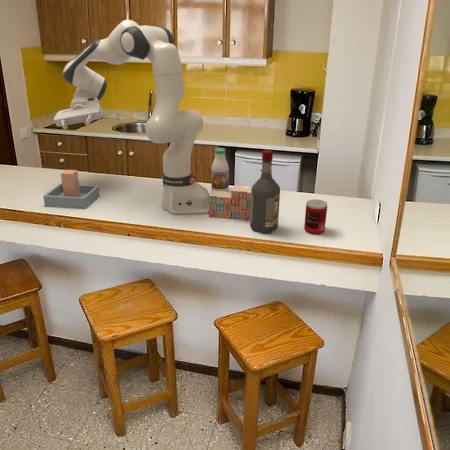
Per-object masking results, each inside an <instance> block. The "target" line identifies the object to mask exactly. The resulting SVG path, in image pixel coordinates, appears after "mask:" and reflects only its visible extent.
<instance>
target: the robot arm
mask: <svg viewBox="0 0 450 450" xmlns="http://www.w3.org/2000/svg"><path fill="white" fill-rule="evenodd" d="M174 41H175V40H174V35H173V34H172V32H171V31H170V30H169V29H168V28H166V27H163V26H161V25H160V26H153V25H139V24H138V22H136V21H134V20H131V19H124V20H122V21H121V22H120V23H118V25H116V27H115V28H114V29H113V30H112V31H111V33H110V34H109V36H108V37H106V38H104V39H95V40H93V41H92V42H90V43H89V44H88V45H87V46H86V47H85V48H84V49H83V50H82V51H80V53H79V54H78V55H76V57H74V58H73V59H72V60H70V61H69V62H67V63H66V65H65V66H64V68H63V71H62V76H63V78H64V80H65V82H66V83H68V84H70V85H72V86H74V87H76V89H75V92H74V94H73V98H72V100H71V103H70V105H69V108H67V109H66V108H65V109H61V110H58V112H56V114H55V115H54V117H53V122H54V124H55V125H56V127H62V129H63V130H67V129H68V127H69V125H75V124H81V123H84V125H85V126H88V125H89V126H90V124H91V122H93V121H96V120H101V119H102V118H103V116H104V112H103V107H102V105H101V102H100V101H101V100H102V98H104V95H105V93H106V90H107V87H108V84H107V82H108V81H107V80H106V77H104V76H102V75H101V74H99V73H97V72H96V71H94V70H93V69H91V68H89V67H88V66H87V65H86V64H88V63H89V62H90V61H92V60H98V61H103V62H105V63H108V64H110V65H123V64H126V62H128V61H129V60H130V59H131V58H135V59H140V60H142V61H143V60H145V59H148V60H149V61H150V62H151V66H152V74H153V81H154V90H155V103H154V108H153V110H152V114H151V115H150V117H149V119H147V121H146V123H145V134H146V137H147V139H148V140H149V141H150V142H151V143H153V144H169V143H170V144H169V146H168V148H167V149H166V150H165V151H164V152H163V154H162V168H163V170H162V171H163V173H162V186H163V195H162V201H161V204H160V205H161V208H162V209H163V210H165V211H167V212H169V213H170V214H172V215H196V214H197V215H200V214H206V215H207V214H209V195H210V193H209V191H208V189H207V188H205V187H204V186H203V185H201V184H200V183H199V182H197V179H196V178H197V177H196V176H197V175H196V173H192V172H191V171H192V170H191V169H192V167H191V165H192V164H191V159H192V158H191V156H192V150H193V147H194V145H195V142H196V139H197V137H198V136H199V134H200V133H201V132H202V131H203V128H204V119H203V117H202V115H201V113H200V112H199V111H197V110H196V109H182V110H178V109H179V108H178V107H179V104H180V103H181V100H183V98H184V97H185V94H186V87H185V79H184V72H183V67H182V61H181V57H180V54H179V50H178V48H177V47H176V45H175V44H174Z"/></svg>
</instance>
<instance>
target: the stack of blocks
mask: <svg viewBox="0 0 450 450" xmlns="http://www.w3.org/2000/svg"><path fill="white" fill-rule="evenodd" d="M251 188H252V186H246V185H234V186H233V187H232V189H231V191H228V192H225V191H214V190H212V189H211V192H210V193H209V213H208V216H209V217H210V218H219V219H227V220H234V221H238V220H239V221H243V222H245V221H247V222H250V214H251Z"/></svg>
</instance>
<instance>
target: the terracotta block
mask: <svg viewBox="0 0 450 450" xmlns="http://www.w3.org/2000/svg"><path fill="white" fill-rule="evenodd" d="M78 173H79V172H78V170H77V169H65V170H63V171H62V172H61V173H60V179H61V184H62V186H63V192H64V196H65V197H81V193H80V186H79V185H80V182H79V181H80V179H79V174H78Z"/></svg>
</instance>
